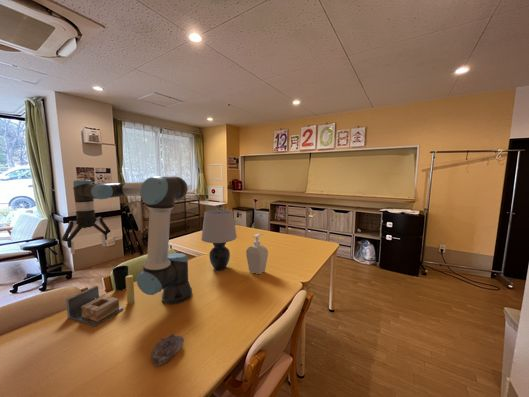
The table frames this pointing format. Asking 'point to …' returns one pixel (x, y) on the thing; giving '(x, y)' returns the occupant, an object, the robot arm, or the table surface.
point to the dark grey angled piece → (82, 299)
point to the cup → (120, 277)
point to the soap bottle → (257, 256)
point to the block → (100, 308)
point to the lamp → (219, 236)
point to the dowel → (130, 289)
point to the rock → (166, 349)
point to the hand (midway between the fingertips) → (89, 249)
